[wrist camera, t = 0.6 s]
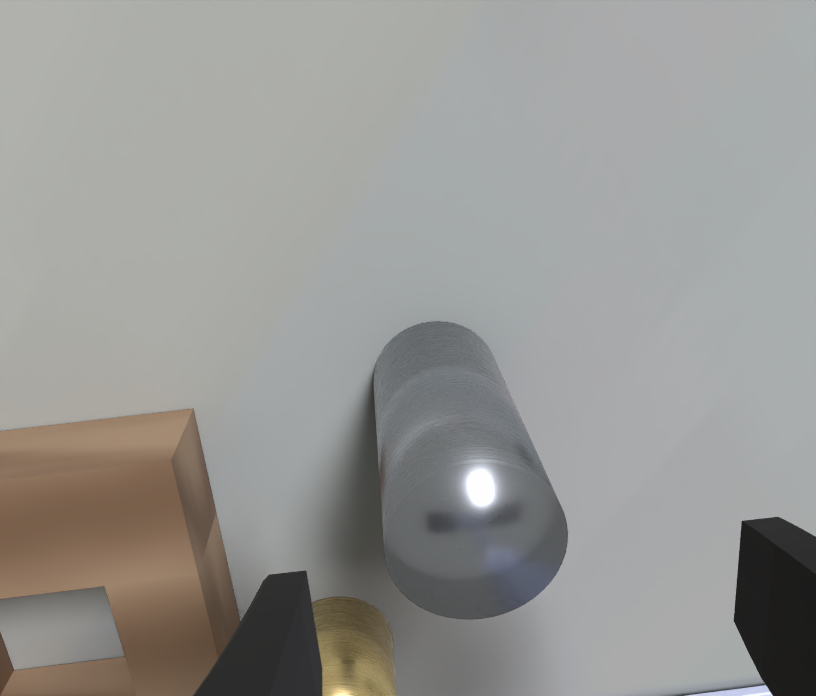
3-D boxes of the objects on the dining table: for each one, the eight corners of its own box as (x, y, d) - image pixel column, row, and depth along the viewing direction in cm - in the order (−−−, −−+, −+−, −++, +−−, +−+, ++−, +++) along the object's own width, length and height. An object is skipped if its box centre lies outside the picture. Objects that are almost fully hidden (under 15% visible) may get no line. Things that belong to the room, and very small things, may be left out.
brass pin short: (397, 676, 27) (406, 794, 22) (292, 689, 26) (281, 810, 22) (386, 590, 25) (393, 698, 21) (275, 604, 25) (260, 715, 21)
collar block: (262, 721, 27) (252, 800, 24) (-32, 759, 27) (-77, 843, 24) (193, 408, 22) (171, 460, 20) (-160, 449, 22) (-234, 508, 19)
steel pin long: (500, 428, 23) (569, 607, 16) (380, 442, 23) (393, 629, 16) (493, 314, 22) (565, 452, 15) (366, 329, 22) (374, 475, 15)
